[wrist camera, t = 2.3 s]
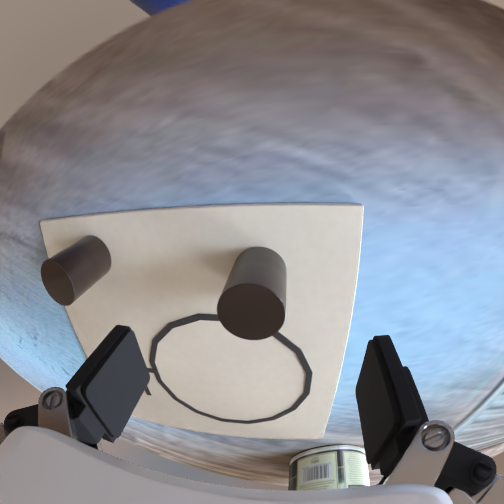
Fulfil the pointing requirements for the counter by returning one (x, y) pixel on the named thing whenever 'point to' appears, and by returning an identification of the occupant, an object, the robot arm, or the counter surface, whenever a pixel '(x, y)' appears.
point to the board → (205, 311)
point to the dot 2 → (254, 295)
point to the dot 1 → (75, 269)
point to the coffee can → (329, 468)
